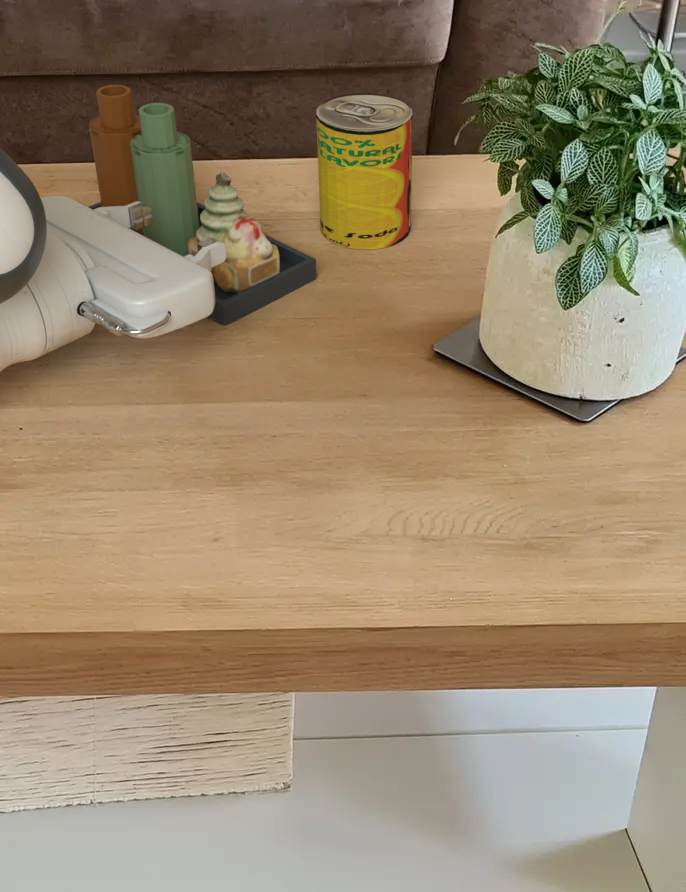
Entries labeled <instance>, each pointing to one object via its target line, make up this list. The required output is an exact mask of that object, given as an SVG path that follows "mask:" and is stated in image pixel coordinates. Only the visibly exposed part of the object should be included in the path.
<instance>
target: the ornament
mask: <svg viewBox="0 0 686 892" xmlns="http://www.w3.org/2000/svg"><path fill="white" fill-rule="evenodd" d="M215 181H216V182H215V184H214V185H212V186H211V187H210V188H209V190H208V197H206V198H205V200H204V203H203V205H204V206H205V208H206V209H205V210H204V211H203V212H202V213H201V215H200V220H201V223H202V226H201V227H200V228H199V229H198V230H197V232H196V237H193V238H191V239H190V240H189V241H188V254H190V255H192V256H193V257H194V256H196V254H197V253H198V248H197V243H199V242H201V241H204V240H207V239H208V238H213V239H215V240H217V241H220V242H222V243H224V244H225V246H226V259H225V261H224V262H223V263H221V264H219V265H216V266H214V267H212V268H211V270H210V272H211V273H212V275H213V280H214V281H215V282H216V283H217V284H218V286H219V288H220V289H221V290H223V291H224V292H228V293H229V292H236V293H238V294H239V293H241V292H243V291H245V290H247V289H249V288H251V287H253V286H255V285H257V284H259V283H261V282H263V281H265V280H267V279H269V278H271V277H273V276H275V275H277V274H279V273H280V255H279V251H278V248H277V246H276V245H274V244H271V243H270V242H269V240H268V239H267V238H266V236H265V235H266V234H265V233H264V231H263V227H262V226H261V224H260V223H259V222H258V221H257V220H256V219H255V218H252V217H250V214H249V213H248V212H247V211H246V210H245V209H244V207H245V202H244V201H243V199H241V198H240V197H239V191H238V189H237V188H236V187H235V186H232V185H231V183H232V178H231V177H230V176H228V175H227V173H226V172H223V171H221V172H220V173H218V174H216V175H215ZM264 234H265V235H264Z"/></svg>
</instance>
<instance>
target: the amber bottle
mask: <svg viewBox="0 0 686 892" xmlns="http://www.w3.org/2000/svg"><path fill="white" fill-rule="evenodd" d="M95 93H96V99H97V105H98V113H99V115H96V116H95V117H93V118H92V119H90V121H89V122H88V130H89V135H90V136H89V137H90V142H91V148H92V153H93V160H94V161H93V162H94V166H95V173H96V180H97V185H98V190H99V191H98V192H99V196H100V202H101V204H102V207H111V206H126V205H128V204H131V203H133V202H136V201H138V197H137V190H136V183H135V176H134V169H133V162H132V155H131V147H130V143H131V140H132V139H133V138H134V137H135V136H137V135H139V134H142V133H141V126H140V118H139V112H135V110H134V109H135V108H134V103H133V95H132V89H131V88H130V87H129V86H127V85H123V84H108V85H104V86H101V87H99V88H98V89H97V90H96V91H95ZM129 229H131V230H133V231H135V232H137V233H139V234H141V235H143V232H142V229H139V230H136V229H134V228H132V227H131V228H129Z"/></svg>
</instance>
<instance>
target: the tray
mask: <svg viewBox="0 0 686 892" xmlns="http://www.w3.org/2000/svg"><path fill="white" fill-rule="evenodd" d="M88 207H89V208H91V209H93V210H94V209H96V208H99V207H102V204H101V201H100V202H97V203H94V204H91V205H89V206H88ZM197 207H198V217H199V226H200V227H201V226H202V223H201V220H200V215H201V213H202V212H203V211H204V210H205V209H206V208H205V206H204V203H200V202H198V201H197ZM264 235H265V236H266V238H267V239H268V240H269V242H270V243H271V244H274V245H276V246H277V248H278V251H279V255H280V273H279V274H277V275H275V276H273V277H271V278H269V279H267V280H265V281H263V282H261V283H259V284H257V285H255V286H253V287H251V288H249V289H247V290H245V291H243V292H241V293H239V294H238V293H236V292H229V293H228V292H224V291H223V290H221V289H220V288H219V286H218V284H217V283H216V282H215V281H214V289H215V307H214V310H213V312H212V313H211V314H210V315H209V316H208V319H209V318H210V319H211V320H213V321H214V322H217V323H218V324H220V325H222V326H224V327H227V326H228V325H230V324H232V323H234V322H237V321H238V320H239V319H242V318H244V317H246V316H247V315H249V314H251V313H253V312H256V311H258V310H259V309H261V308H264V307H265V306H267V305H268V304H271V303H272V302H274V301H276V300H278V299H281V298H282V297H284V296H286V295H288V294H290V293H292V292H294V291H296V290H298V289H300V288H302V287H304V286H305V285H307V284H309V283H310V282H313V281H315V280H317V259H316V258H315V257H313V256H311V255H308V254H307V253H304V252H302V251H300V250H299V249H297V248H294V247H292V246H290V245H288V244H285V243H284V242H281V241H280V240H278V239H275V238H273V237H271V236H269V235H267V234H265V233H264Z"/></svg>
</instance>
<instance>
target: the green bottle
mask: <svg viewBox="0 0 686 892" xmlns="http://www.w3.org/2000/svg"><path fill="white" fill-rule="evenodd" d="M137 111H138V114H139V118H140V126H141V133H142V134H139V135H137V136H135V137H134V138H133V139H132V140H131V143H130V147H131V155H132V162H133V169H134V176H135V183H136V190H137V197H138V201H140V202H142V203H144V204H146V205H147V206H149V207H151V209H152V213H151V214H152V216H153V222H152V223H151V225H149V226H144V228H142V232H143V236H145V237H146V238H148V239H150V240H152V241H154V242H156V243H158V244H160V245H162V246H164V247H166V248H168V249H170V250H171V251H173V252H175V253H177V254H179V255H181V256H183V257H184V256H186V255H188V241H189V240H190V239H191V238H193V237H196V232H197V230H198V229H199V228H200V226H199V217H198V207H197V202H198V199H197V191H196V181H195V172H194V171H195V170H194V164H193V163H194V162H193V152H192V145H191V143H192V142H191V139H190V137H189V136H188V135H187V134H186V133H184V132H181V131H177V130H178V129H177V123H176V121H177V120H176V114H175V113H176V112H175V109H174V106H173V105H171V104H169V103H166V102H151V103H147V104H144V105H142V106H140V107H139V109H137Z"/></svg>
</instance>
